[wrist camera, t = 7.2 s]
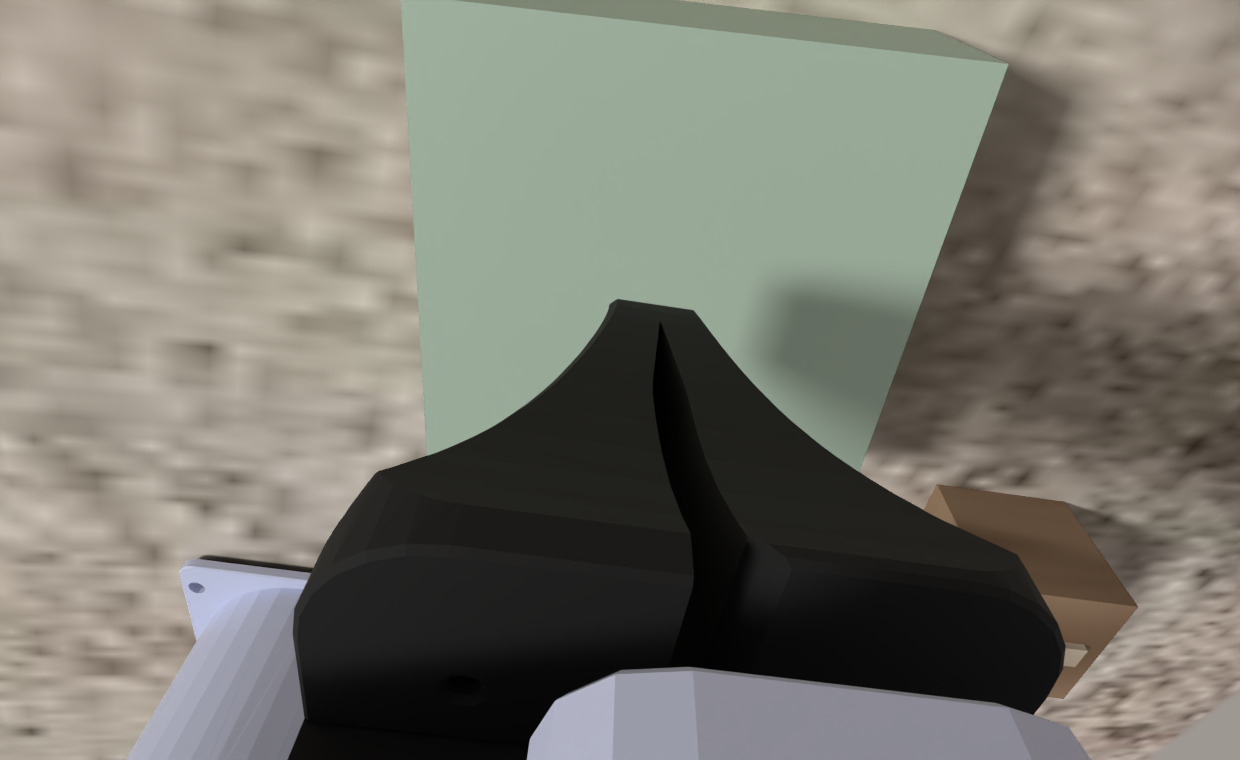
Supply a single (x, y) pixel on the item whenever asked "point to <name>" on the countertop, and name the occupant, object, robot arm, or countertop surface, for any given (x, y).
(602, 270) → the sage block
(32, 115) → the countertop surface
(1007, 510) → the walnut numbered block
